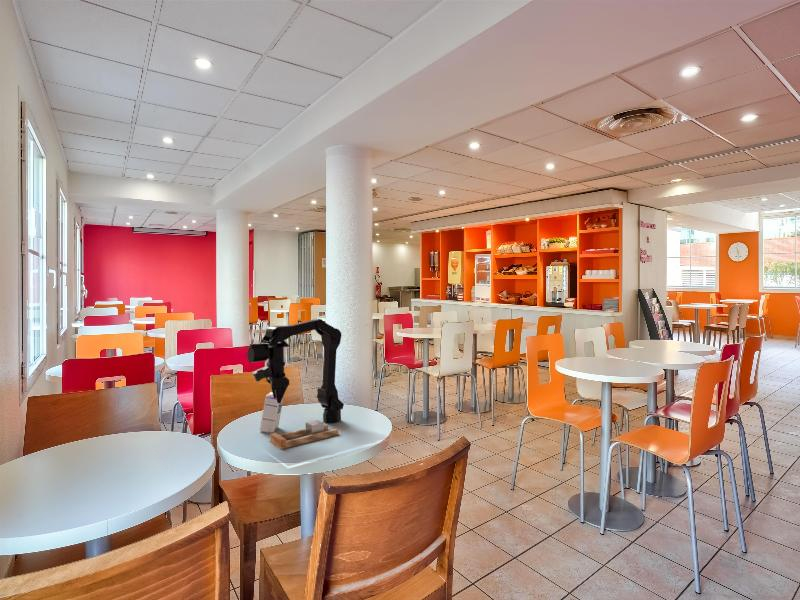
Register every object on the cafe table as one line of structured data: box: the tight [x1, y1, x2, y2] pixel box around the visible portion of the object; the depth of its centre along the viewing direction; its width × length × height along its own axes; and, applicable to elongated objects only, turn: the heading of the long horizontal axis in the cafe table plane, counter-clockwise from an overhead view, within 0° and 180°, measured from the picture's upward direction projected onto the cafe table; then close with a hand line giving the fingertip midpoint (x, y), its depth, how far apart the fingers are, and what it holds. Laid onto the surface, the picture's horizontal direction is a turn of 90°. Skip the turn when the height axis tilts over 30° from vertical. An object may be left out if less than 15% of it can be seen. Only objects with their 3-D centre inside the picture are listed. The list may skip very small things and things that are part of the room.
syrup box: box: [259, 391, 284, 433], centre depth 179 cm, size 6×6×14 cm
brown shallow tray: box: [269, 423, 341, 451], centre depth 168 cm, size 23×12×4 cm, turn 128°
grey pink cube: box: [305, 419, 325, 436], centre depth 171 cm, size 5×5×5 cm
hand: (277, 400), depth 172 cm, fingers open, 8 cm apart
